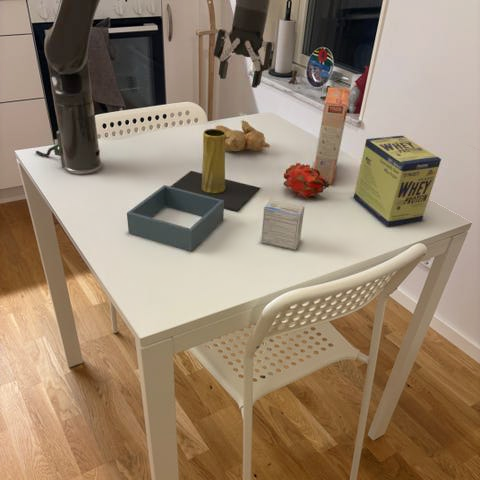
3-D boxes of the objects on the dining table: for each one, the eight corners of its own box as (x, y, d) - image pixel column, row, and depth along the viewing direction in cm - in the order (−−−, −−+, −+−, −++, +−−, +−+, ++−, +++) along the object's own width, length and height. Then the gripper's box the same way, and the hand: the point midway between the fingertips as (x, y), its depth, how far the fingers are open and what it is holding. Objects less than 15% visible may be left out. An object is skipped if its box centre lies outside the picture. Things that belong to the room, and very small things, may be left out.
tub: (128, 233, 113) (126, 212, 109) (165, 204, 124) (164, 184, 120) (191, 251, 108) (191, 231, 105) (223, 220, 119) (224, 200, 116)
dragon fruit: (278, 193, 135) (321, 209, 133) (274, 186, 127) (319, 203, 125) (291, 162, 134) (334, 178, 132) (287, 153, 126) (333, 170, 124)
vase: (200, 183, 132) (201, 127, 123) (224, 183, 133) (226, 128, 124) (201, 194, 128) (202, 136, 119) (226, 194, 128) (228, 137, 119)
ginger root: (271, 156, 146) (266, 128, 141) (216, 166, 148) (210, 139, 143) (269, 138, 158) (265, 111, 153) (219, 147, 160) (213, 121, 155)
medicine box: (300, 241, 114) (305, 205, 108) (295, 251, 110) (300, 215, 105) (266, 233, 115) (269, 198, 110) (260, 243, 112) (263, 207, 107)
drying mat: (164, 192, 128) (164, 190, 128) (191, 172, 138) (191, 170, 138) (237, 211, 123) (237, 210, 122) (259, 189, 133) (259, 187, 132)
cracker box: (333, 186, 136) (348, 104, 123) (311, 182, 137) (323, 101, 124) (336, 165, 147) (350, 88, 134) (315, 162, 148) (327, 85, 134)
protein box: (387, 227, 121) (404, 163, 111) (352, 198, 131) (364, 137, 121) (423, 221, 124) (443, 159, 114) (386, 193, 135) (401, 133, 125)
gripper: (285, 14, 119) (269, 89, 128) (230, 1, 122) (218, 74, 131) (275, 13, 113) (259, 91, 122) (217, -1, 116) (205, 76, 125)
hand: (238, 82), depth 126 cm, fingers open, 8 cm apart
